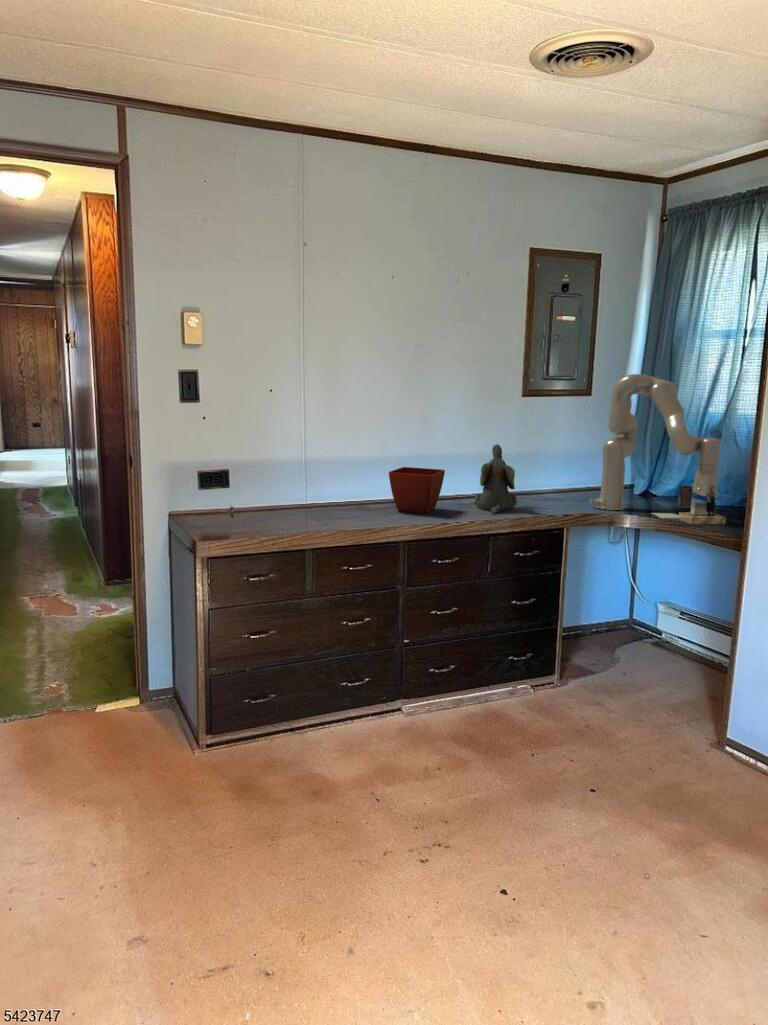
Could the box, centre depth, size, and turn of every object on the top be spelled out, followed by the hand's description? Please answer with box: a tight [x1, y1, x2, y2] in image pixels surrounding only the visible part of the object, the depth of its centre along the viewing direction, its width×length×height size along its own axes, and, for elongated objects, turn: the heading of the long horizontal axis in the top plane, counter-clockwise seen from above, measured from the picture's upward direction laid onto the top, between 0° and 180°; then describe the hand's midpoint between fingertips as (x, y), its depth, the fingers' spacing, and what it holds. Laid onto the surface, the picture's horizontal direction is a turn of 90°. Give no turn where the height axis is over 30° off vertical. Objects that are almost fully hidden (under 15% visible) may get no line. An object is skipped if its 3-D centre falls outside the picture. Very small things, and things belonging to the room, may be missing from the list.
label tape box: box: [690, 492, 717, 516], centre depth 315 cm, size 9×4×12 cm, turn 90°
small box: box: [676, 484, 693, 510], centre depth 346 cm, size 11×6×10 cm, turn 84°
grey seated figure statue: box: [474, 443, 518, 514], centre depth 329 cm, size 19×21×27 cm
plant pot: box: [388, 466, 446, 514], centre depth 320 cm, size 19×19×17 cm
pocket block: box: [677, 511, 727, 525], centre depth 315 cm, size 15×10×3 cm, turn 99°
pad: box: [650, 512, 679, 520], centre depth 325 cm, size 10×10×1 cm
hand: (702, 509), depth 315 cm, fingers open, 9 cm apart
